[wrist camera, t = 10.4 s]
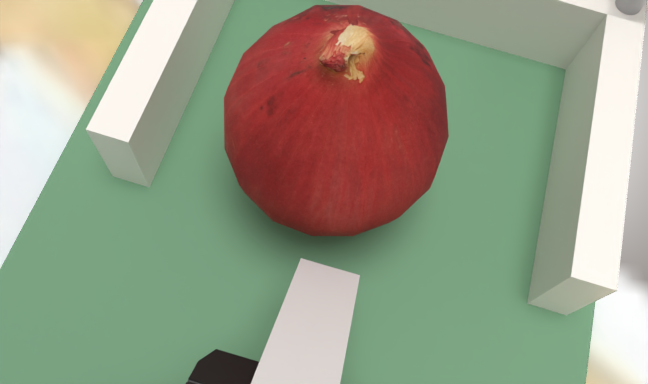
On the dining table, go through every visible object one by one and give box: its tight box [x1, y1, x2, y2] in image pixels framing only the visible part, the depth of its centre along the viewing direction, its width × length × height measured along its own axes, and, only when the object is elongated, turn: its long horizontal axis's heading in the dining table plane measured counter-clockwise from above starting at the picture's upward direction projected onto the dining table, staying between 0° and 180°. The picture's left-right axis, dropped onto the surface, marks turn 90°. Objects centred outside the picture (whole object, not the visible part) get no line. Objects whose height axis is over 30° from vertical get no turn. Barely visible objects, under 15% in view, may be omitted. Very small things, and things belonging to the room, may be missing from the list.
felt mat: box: [0, 0, 595, 384], centre depth 19 cm, size 17×23×1 cm
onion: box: [224, 5, 449, 236], centre depth 16 cm, size 6×6×8 cm
